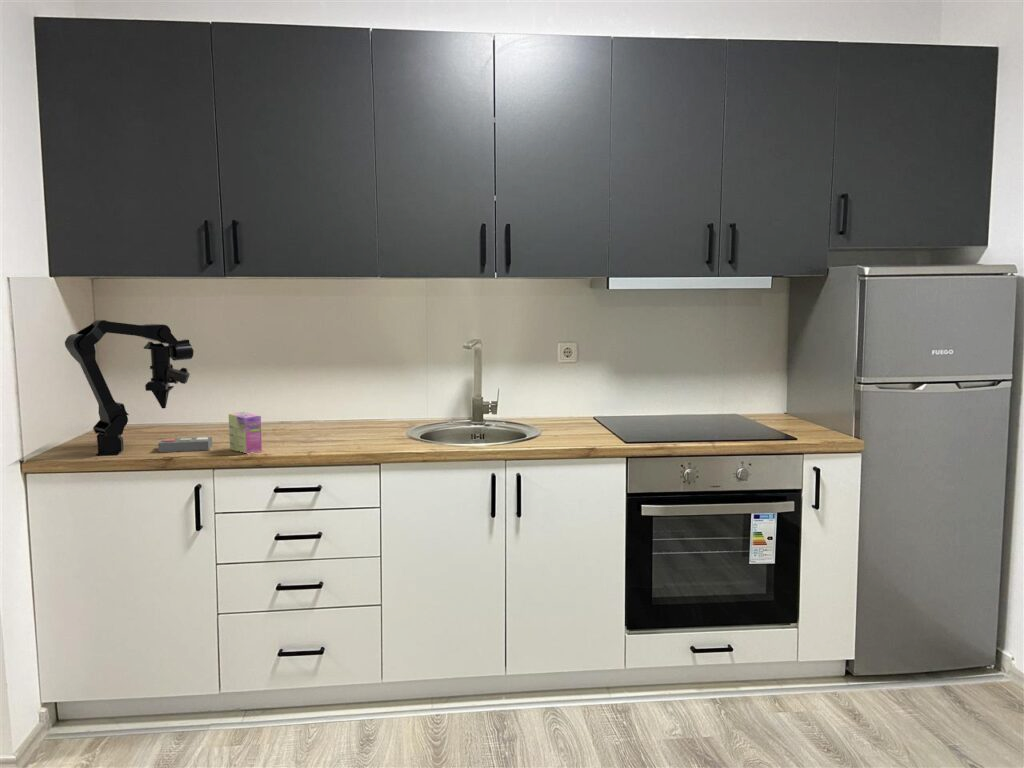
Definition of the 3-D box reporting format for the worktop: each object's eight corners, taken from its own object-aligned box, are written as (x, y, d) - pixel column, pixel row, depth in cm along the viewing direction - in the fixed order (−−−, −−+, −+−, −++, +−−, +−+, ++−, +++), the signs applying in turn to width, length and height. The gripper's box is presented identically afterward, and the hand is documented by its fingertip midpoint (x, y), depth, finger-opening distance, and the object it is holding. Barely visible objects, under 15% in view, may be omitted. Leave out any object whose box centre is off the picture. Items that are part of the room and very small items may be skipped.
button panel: (158, 452, 251) (158, 443, 250) (164, 447, 258) (163, 438, 257) (208, 450, 254) (207, 441, 253) (212, 445, 261) (211, 436, 260)
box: (262, 451, 252) (261, 415, 250) (246, 454, 248) (244, 417, 246) (245, 447, 259) (244, 411, 257) (229, 449, 255) (227, 413, 253)
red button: (163, 447, 253) (162, 440, 252) (165, 444, 256) (165, 438, 256) (173, 446, 253) (173, 440, 253) (175, 444, 256) (175, 438, 256)
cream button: (196, 445, 255) (195, 439, 254) (197, 443, 258) (197, 437, 258) (206, 445, 255) (206, 439, 255) (208, 443, 258) (207, 437, 258)
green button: (179, 446, 254) (179, 440, 253) (181, 444, 257) (181, 438, 257) (190, 445, 254) (189, 439, 254) (192, 443, 257) (191, 437, 257)
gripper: (180, 364, 253) (183, 412, 255) (192, 358, 271) (195, 403, 273) (143, 365, 251) (146, 413, 253) (157, 359, 269) (160, 404, 271)
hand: (163, 408), depth 263 cm, fingers closed
